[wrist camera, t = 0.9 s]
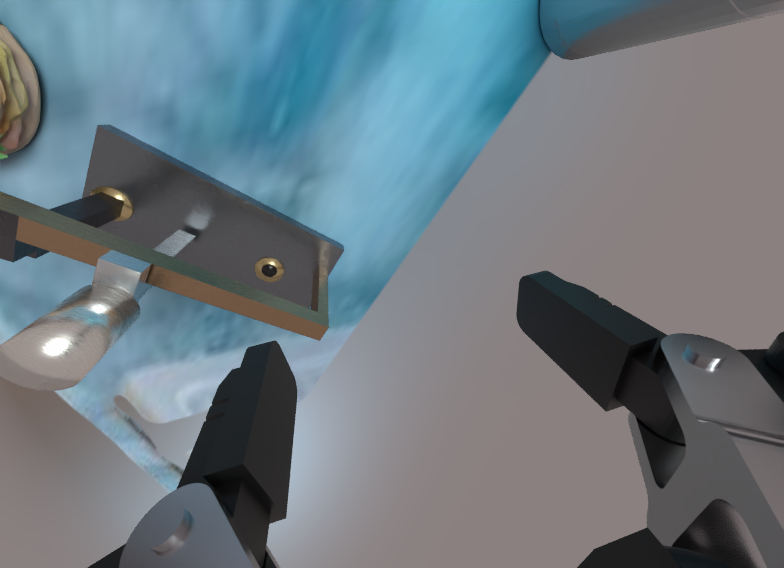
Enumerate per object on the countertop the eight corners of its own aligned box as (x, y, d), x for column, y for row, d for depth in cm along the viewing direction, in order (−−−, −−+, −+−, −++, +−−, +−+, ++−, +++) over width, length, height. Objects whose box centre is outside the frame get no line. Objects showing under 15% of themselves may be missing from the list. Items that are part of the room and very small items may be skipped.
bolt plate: (109, 124, 23) (-58, 131, 13) (343, 245, 33) (351, 303, 23) (83, 242, 27) (-61, 317, 17) (298, 318, 37) (288, 396, 27)
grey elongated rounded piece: (178, 199, 25) (-5, 304, 11) (216, 217, 27) (96, 330, 13) (163, 242, 27) (-13, 381, 13) (200, 257, 28) (77, 396, 14)
